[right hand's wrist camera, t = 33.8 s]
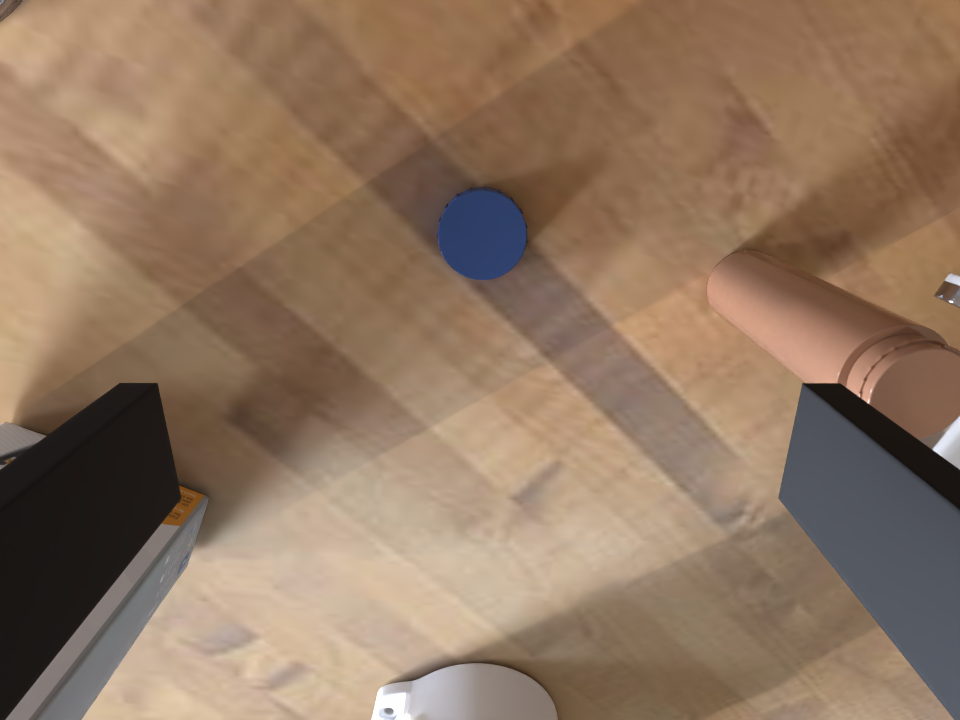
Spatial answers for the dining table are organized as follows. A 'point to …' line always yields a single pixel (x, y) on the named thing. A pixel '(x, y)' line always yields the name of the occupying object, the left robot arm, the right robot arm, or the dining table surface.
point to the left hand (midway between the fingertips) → (894, 359)
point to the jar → (840, 340)
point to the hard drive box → (108, 605)
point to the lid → (482, 233)
